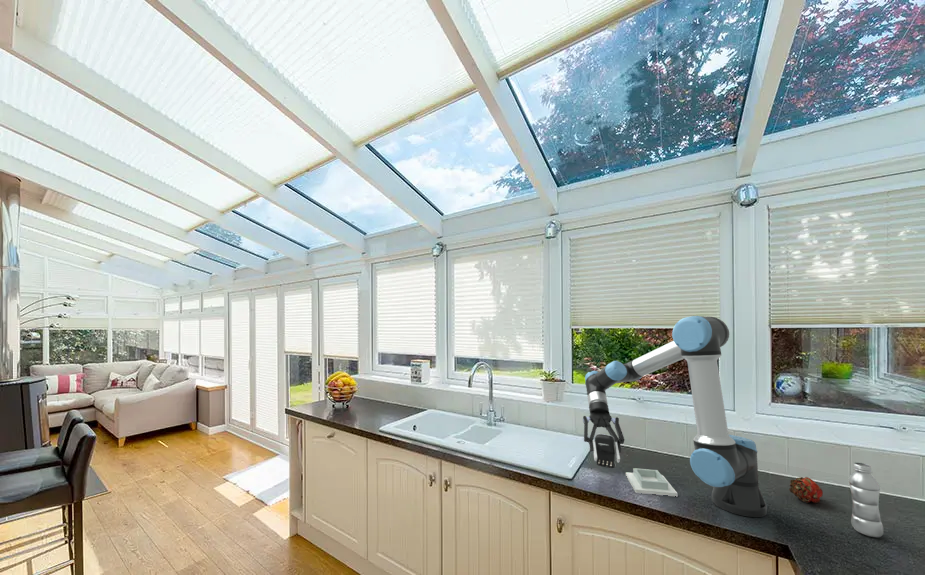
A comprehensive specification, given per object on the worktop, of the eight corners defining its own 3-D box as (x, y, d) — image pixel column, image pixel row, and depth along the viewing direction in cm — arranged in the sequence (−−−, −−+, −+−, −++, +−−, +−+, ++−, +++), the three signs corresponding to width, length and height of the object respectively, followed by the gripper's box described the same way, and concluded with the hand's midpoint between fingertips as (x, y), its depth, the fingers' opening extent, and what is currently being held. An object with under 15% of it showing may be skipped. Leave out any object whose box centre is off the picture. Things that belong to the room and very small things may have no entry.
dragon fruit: (801, 510, 128) (806, 504, 135) (828, 502, 123) (831, 496, 131) (781, 484, 132) (787, 479, 140) (806, 475, 128) (811, 471, 136)
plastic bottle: (865, 527, 114) (859, 460, 116) (891, 540, 107) (885, 469, 109) (845, 528, 114) (839, 460, 116) (870, 541, 107) (864, 469, 109)
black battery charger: (594, 466, 140) (593, 435, 141) (597, 463, 143) (595, 432, 145) (614, 470, 137) (613, 437, 138) (616, 466, 140) (615, 435, 141)
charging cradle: (662, 478, 149) (662, 468, 149) (677, 496, 133) (677, 486, 134) (625, 475, 152) (625, 465, 152) (635, 492, 136) (635, 482, 137)
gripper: (622, 411, 155) (634, 466, 137) (572, 409, 159) (578, 463, 141) (625, 401, 150) (638, 456, 133) (573, 399, 154) (579, 453, 136)
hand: (607, 459), depth 137 cm, fingers closed on black battery charger, 7 cm apart
